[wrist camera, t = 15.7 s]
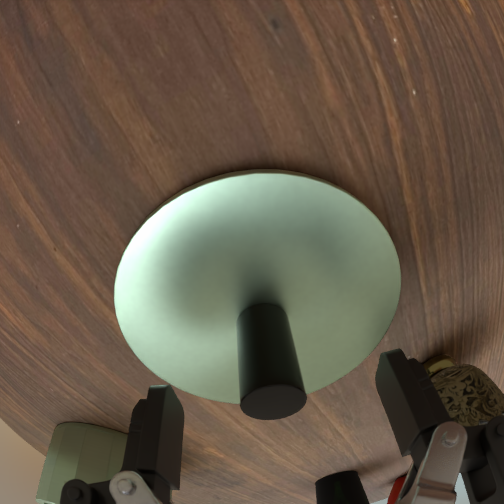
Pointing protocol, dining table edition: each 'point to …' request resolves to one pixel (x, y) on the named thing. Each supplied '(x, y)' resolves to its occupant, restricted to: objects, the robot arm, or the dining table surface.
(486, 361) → the dining table surface
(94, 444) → the pot
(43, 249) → the dining table surface
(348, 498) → the cup
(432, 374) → the cup
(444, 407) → the robot arm
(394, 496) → the apple
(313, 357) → the pot lid
